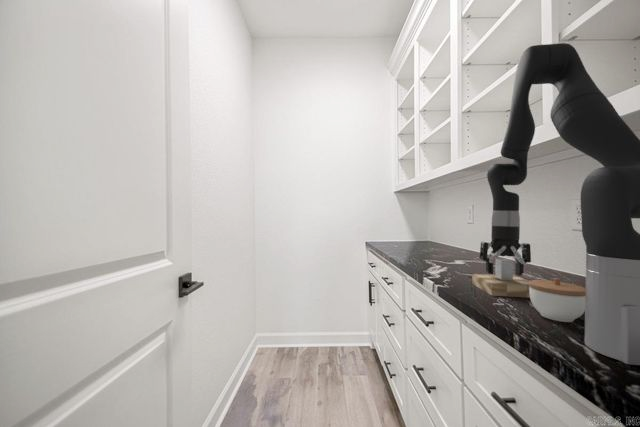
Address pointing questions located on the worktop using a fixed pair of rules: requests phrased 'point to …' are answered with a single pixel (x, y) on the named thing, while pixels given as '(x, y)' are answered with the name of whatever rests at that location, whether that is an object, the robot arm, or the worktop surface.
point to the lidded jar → (557, 299)
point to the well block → (501, 285)
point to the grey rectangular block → (504, 270)
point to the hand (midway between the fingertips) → (504, 274)
